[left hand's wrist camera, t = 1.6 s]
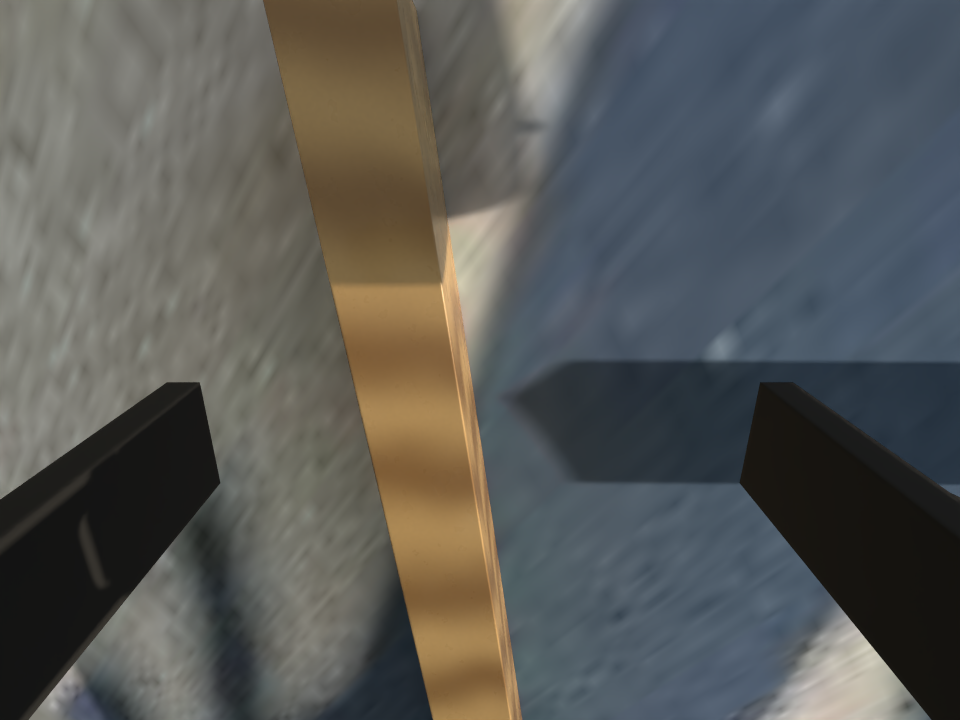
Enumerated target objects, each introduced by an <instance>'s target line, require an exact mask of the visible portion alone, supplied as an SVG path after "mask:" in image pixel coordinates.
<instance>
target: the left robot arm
mask: <svg viewBox="0 0 960 720" xmlns="http://www.w3.org/2000/svg"><path fill="white" fill-rule="evenodd" d="M219 484H220V479H219V474H218V469H217V464H216V459H215V455H214V450H213V445H212V440H211V435H210V430H209V425H208V420H207V416H206V411H205V406H204V401H203V396H202V391H201V386H200V382H167V383H166V384H164V385H163V386H161V387H160V388H158V389H157V390H156V391H154V392H153V393H151V394H150V395H148V396H147V397H146V398H144V399H143V400H141V401H140V402H139V403H137V404H136V405H134V406H133V407H131V408H130V409H129V410H127V411H126V412H124V413H123V414H121V415H120V416H119V417H117V418H116V419H114V420H113V421H111V422H110V423H109V424H107V425H106V426H104V427H103V428H102V429H100V430H99V431H97V432H96V433H94V434H93V435H92V436H90V437H89V438H87V439H86V440H84V441H83V442H82V443H80V444H79V445H77V446H76V447H74V448H73V449H72V450H70V451H69V452H67V453H66V454H65V455H63V456H62V457H60V458H59V459H57V460H56V461H55V462H53V463H52V464H50V465H49V466H47V467H46V468H45V469H43V470H42V471H40V472H39V473H37V474H36V475H35V476H33V477H32V478H30V479H29V480H28V481H26V482H25V483H23V484H22V485H20V486H19V487H18V488H16V489H15V490H13V491H12V492H10V493H9V494H8V495H6V496H5V497H3V498H2V499H0V720H29V718H30V717H31V716H32V715H33V713H34V712H35V711H36V710H37V708H38V707H39V706H40V705H41V704H42V702H43V701H44V700H45V699H46V697H47V696H48V695H49V694H50V692H51V691H52V690H53V689H54V687H55V686H56V685H57V684H58V683H59V681H60V680H61V679H62V678H63V676H64V675H65V674H66V673H67V671H68V670H69V669H70V668H71V666H72V665H73V664H74V663H75V662H76V660H77V659H78V658H79V657H80V655H81V654H82V653H83V652H84V650H85V649H86V648H87V647H88V646H89V644H90V643H91V642H92V641H93V639H94V638H95V637H96V636H97V634H98V633H99V632H100V631H101V629H102V628H103V627H104V626H105V625H106V623H107V622H108V621H109V620H110V618H111V617H112V616H113V615H114V613H115V612H116V611H117V610H118V609H119V607H120V606H121V605H122V604H123V602H124V601H125V600H126V599H127V597H128V596H129V595H130V594H131V592H132V591H133V590H134V589H135V588H136V586H137V585H138V584H139V583H140V581H141V580H142V579H143V578H144V576H145V575H146V574H147V573H148V571H149V570H150V569H151V568H152V567H153V565H154V564H155V563H156V562H157V560H158V559H159V558H160V557H161V555H162V554H163V553H164V552H165V551H166V549H167V548H168V547H169V546H170V544H171V543H172V542H173V541H174V539H175V538H176V537H177V536H178V534H179V533H180V532H181V531H182V530H183V528H184V527H185V526H186V525H187V523H188V522H189V521H190V520H191V518H192V517H193V516H194V515H195V514H196V512H197V511H198V510H199V509H200V507H201V506H202V505H203V504H204V502H205V501H206V500H207V499H208V497H209V496H210V495H211V494H212V493H213V491H214V490H215V489H216V488H217V486H218V485H219ZM740 484H741V485H742V486H743V488H744V489H745V490H746V491H747V493H748V494H749V495H750V496H751V497H752V499H753V500H754V501H755V502H756V504H757V505H758V506H759V507H760V509H761V510H762V511H763V512H764V514H765V515H766V516H767V517H768V518H769V520H770V521H771V522H772V523H773V525H774V526H775V527H776V528H777V530H778V531H779V532H780V533H781V534H782V536H783V537H784V538H785V539H786V541H787V542H788V543H789V544H790V546H791V547H792V548H793V549H794V551H795V552H796V553H797V554H798V555H799V557H800V558H801V559H802V560H803V562H804V563H805V564H806V565H807V567H808V568H809V569H810V570H811V571H812V573H813V574H814V575H815V576H816V578H817V579H818V580H819V581H820V583H821V584H822V585H823V586H824V588H825V589H826V590H827V591H828V592H829V594H830V595H831V596H832V597H833V599H834V600H835V601H836V602H837V604H838V605H839V606H840V607H841V609H842V610H843V611H844V612H845V613H846V615H847V616H848V617H849V618H850V620H851V621H852V622H853V623H854V625H855V626H856V627H857V628H858V629H859V631H860V632H861V633H862V634H863V636H864V637H865V638H866V639H867V641H868V642H869V643H870V644H871V646H872V647H873V648H874V649H875V650H876V652H877V653H878V654H879V655H880V657H881V658H882V659H883V660H884V662H885V663H886V664H887V665H888V667H889V668H890V669H891V670H892V671H893V673H894V674H895V675H896V676H897V678H898V679H899V680H900V681H901V683H902V684H903V685H904V686H905V687H906V689H907V690H908V691H909V692H910V694H911V695H912V696H913V697H914V699H915V700H916V701H917V702H918V704H919V705H920V706H921V707H922V708H923V710H924V711H925V712H926V713H927V715H928V716H929V717H930V718H931V720H960V497H958V496H956V495H954V494H952V493H950V492H948V491H947V490H945V489H944V488H942V487H941V486H940V485H938V484H937V483H935V482H934V481H932V480H931V479H930V478H928V477H927V476H925V475H924V474H923V473H921V472H920V471H918V470H917V469H915V468H914V467H913V466H911V465H910V464H908V463H907V462H905V461H904V460H903V459H901V458H900V457H898V456H897V455H895V454H894V453H893V452H891V451H890V450H888V449H887V448H886V447H884V446H883V445H881V444H880V443H878V442H877V441H876V440H874V439H873V438H871V437H870V436H868V435H867V434H866V433H864V432H863V431H861V430H860V429H858V428H857V427H856V426H854V425H853V424H851V423H850V422H849V421H847V420H846V419H844V418H843V417H841V416H840V415H839V414H837V413H836V412H834V411H833V410H831V409H830V408H829V407H827V406H826V405H824V404H823V403H821V402H820V401H819V400H817V399H816V398H814V397H813V396H812V395H810V394H809V393H807V392H806V391H804V390H803V389H802V388H800V387H799V386H797V385H796V384H794V383H793V382H760V386H759V391H758V396H757V401H756V406H755V411H754V416H753V420H752V425H751V430H750V435H749V440H748V445H747V450H746V455H745V459H744V464H743V469H742V474H741V479H740Z"/></svg>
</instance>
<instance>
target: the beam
mask: <svg viewBox="0 0 960 720" xmlns="http://www.w3.org/2000/svg"><path fill="white" fill-rule="evenodd" d="M263 2H264V6H265V10H266V14H267V19H268V23H269V27H270V31H271V36H272V40H273V44H274V48H275V53H276V57H277V61H278V65H279V70H280V74H281V78H282V82H283V87H284V91H285V95H286V99H287V104H288V108H289V112H290V116H291V120H292V125H293V129H294V133H295V137H296V142H297V146H298V150H299V154H300V159H301V163H302V167H303V171H304V176H305V180H306V184H307V188H308V193H309V197H310V201H311V205H312V210H313V214H314V218H315V222H316V227H317V231H318V235H319V239H320V243H321V248H322V252H323V256H324V260H325V265H326V269H327V273H328V277H329V282H330V286H331V290H332V294H333V299H334V303H335V307H336V311H337V316H338V320H339V324H340V328H341V333H342V337H343V341H344V345H345V350H346V354H347V358H348V362H349V366H350V371H351V375H352V379H353V383H354V388H355V392H356V396H357V400H358V405H359V409H360V413H361V417H362V422H363V426H364V430H365V434H366V439H367V443H368V447H369V451H370V456H371V460H372V464H373V468H374V472H375V477H376V481H377V485H378V489H379V494H380V498H381V502H382V506H383V511H384V515H385V519H386V523H387V528H388V532H389V536H390V540H391V545H392V549H393V553H394V557H395V562H396V566H397V570H398V574H399V579H400V583H401V587H402V591H403V595H404V600H405V604H406V608H407V612H408V617H409V621H410V625H411V629H412V634H413V638H414V642H415V646H416V651H417V655H418V659H419V663H420V668H421V672H422V676H423V680H424V685H425V689H426V693H427V697H428V702H429V706H430V710H431V714H432V718H433V720H522V716H521V709H520V703H519V696H518V689H517V682H516V676H515V669H514V662H513V656H512V649H511V642H510V635H509V629H508V622H507V615H506V609H505V602H504V595H503V589H502V582H501V575H500V568H499V562H498V555H497V548H496V542H495V535H494V528H493V521H492V515H491V508H490V501H489V495H488V488H487V481H486V474H485V468H484V461H483V454H482V448H481V441H480V434H479V427H478V421H477V414H476V407H475V401H474V394H473V387H472V381H471V374H470V367H469V360H468V354H467V347H466V340H465V334H464V327H463V320H462V313H461V307H460V300H459V293H458V287H457V280H456V273H455V266H454V260H453V253H452V246H451V240H450V233H449V226H448V219H447V213H446V206H445V199H444V193H443V186H442V179H441V172H440V166H439V159H438V152H437V146H436V139H435V132H434V126H433V119H432V112H431V105H430V99H429V92H428V85H427V79H426V72H425V65H424V58H423V52H422V45H421V38H420V32H419V25H418V18H417V11H416V8H415V6H414V3H413V1H412V0H263Z"/></svg>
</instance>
